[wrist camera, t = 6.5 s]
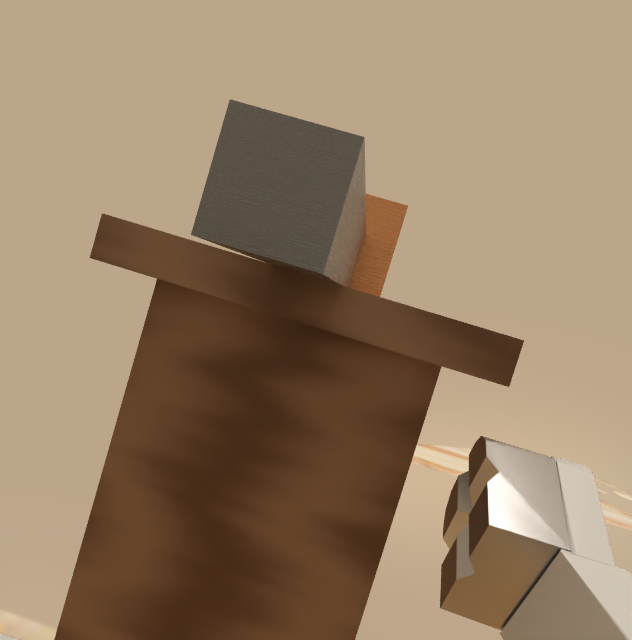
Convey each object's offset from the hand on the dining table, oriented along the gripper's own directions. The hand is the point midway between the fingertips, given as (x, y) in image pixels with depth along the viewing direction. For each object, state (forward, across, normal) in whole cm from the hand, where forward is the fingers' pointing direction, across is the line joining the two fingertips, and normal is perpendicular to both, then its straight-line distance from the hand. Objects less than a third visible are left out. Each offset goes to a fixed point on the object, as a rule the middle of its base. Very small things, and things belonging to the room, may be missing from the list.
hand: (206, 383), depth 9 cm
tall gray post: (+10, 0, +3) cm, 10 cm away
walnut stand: (0, 0, +28) cm, 28 cm away
